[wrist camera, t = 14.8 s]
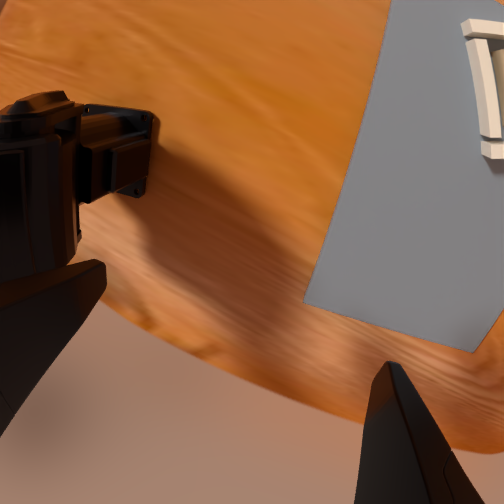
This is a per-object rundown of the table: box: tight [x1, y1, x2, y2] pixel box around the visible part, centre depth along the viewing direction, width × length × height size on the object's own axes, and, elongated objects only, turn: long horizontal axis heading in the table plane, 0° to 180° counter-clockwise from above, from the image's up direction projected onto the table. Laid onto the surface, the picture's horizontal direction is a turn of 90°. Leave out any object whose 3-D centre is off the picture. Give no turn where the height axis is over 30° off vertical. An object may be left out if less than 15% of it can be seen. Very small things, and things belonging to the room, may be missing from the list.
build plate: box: [303, 0, 504, 353], centre depth 16 cm, size 15×24×1 cm, turn 167°
